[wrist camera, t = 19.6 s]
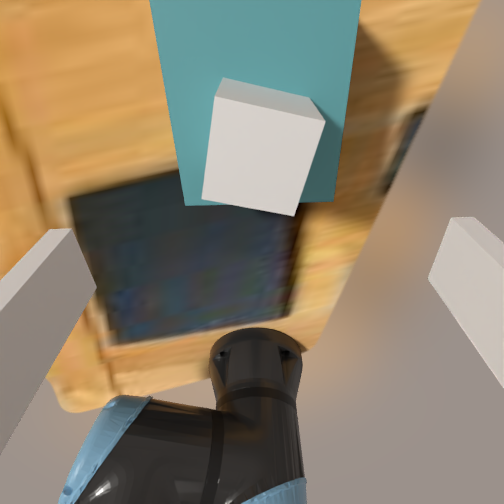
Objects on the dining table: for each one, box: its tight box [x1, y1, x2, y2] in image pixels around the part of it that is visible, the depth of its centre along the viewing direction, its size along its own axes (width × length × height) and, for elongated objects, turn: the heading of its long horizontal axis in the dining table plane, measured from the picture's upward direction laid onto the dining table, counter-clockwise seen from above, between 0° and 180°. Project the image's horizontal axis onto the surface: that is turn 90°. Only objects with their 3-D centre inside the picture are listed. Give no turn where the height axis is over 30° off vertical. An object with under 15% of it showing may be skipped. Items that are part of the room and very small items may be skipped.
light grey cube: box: [202, 77, 326, 216], centre depth 21 cm, size 6×6×6 cm
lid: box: [149, 0, 361, 206], centre depth 23 cm, size 14×12×1 cm
